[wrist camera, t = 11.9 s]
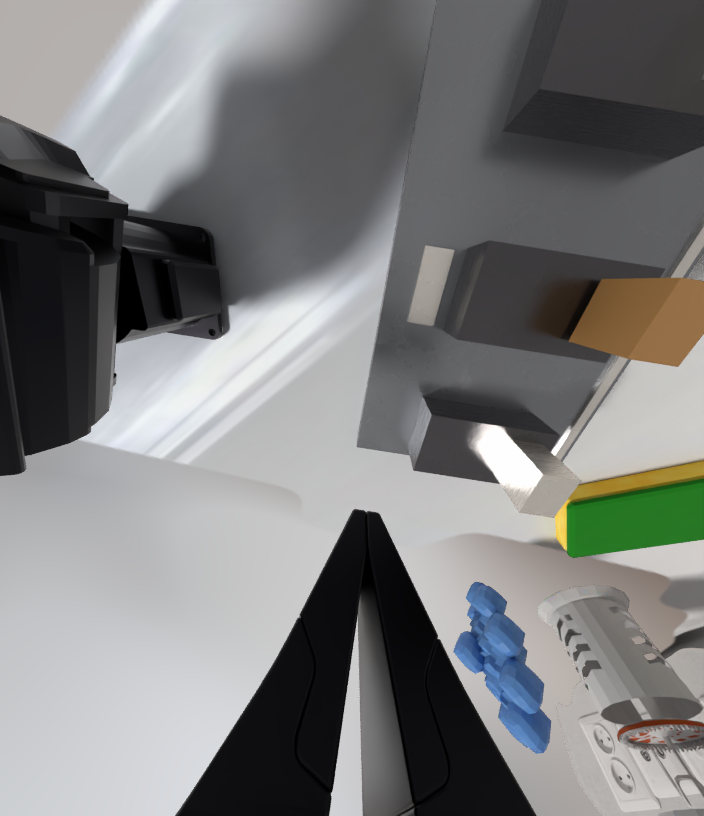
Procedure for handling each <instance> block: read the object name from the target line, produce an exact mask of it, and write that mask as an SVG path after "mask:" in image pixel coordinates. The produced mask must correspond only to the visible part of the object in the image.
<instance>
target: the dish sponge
mask: <svg viewBox="0 0 704 816" xmlns="http://www.w3.org/2000/svg"><path fill="white" fill-rule="evenodd" d="M555 520H556V538H557V540H558V541H559V542H560V544H561V545H562V547H563V548H564V549H565V550H566V551H567V553H568V555H569V556H570V557H573V558H575V557H583V556H590V555H597V554H604V553H611V552H619V551H626V550H633V549H640V548H647V547H654V546H661V545H669V544H676V543H683V542H690V541H697V540H704V461H700V462H695V463H689V464H684V465H679V466H674V467H669V468H664V469H659V470H654V471H649V472H644V473H638V474H633V475H628V476H623V477H618V478H613V479H608V480H603V481H598V482H592V483H587V484H582V485H578V486H577V488H576V489H575V490H574V492H573V493H572V494H571V496H570V497H569V498H568V500H567V501H566V502H565V504H564V505H563V506H562V508H561V509H560V510H559V511H558V513H557V514H556V515H555Z"/></svg>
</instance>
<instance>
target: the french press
mask: <svg viewBox="0 0 704 816" xmlns="http://www.w3.org/2000/svg"><path fill="white" fill-rule="evenodd" d="M628 607H629V599H628V597H627V596H626V594H625V593H624V592H622V591H620V590H618V589H616V588H613V587H608V586H599V585H589V586H578V587H573V588H569V589H566V590H563V591H559V592H557V593H555V594H553V595H552V596H550V597H548V598H546V599H545V600H544V601H543V602H542V604H541V605H540V606H539V607H538V616H539V617H540V618H541V619H542V620H543V621H544V622H545V623H547V624H548V625H550V626H552V627H554V629H555V631H556V633H557V635H558V637H559V638H560V640H561V641H562V643H563V646H564V648H565V650H566V652H567V653H568V655H569V656H570V658H571V660H572V663H573V664H574V667H575V669H576V670H577V672H578V673H579V674H580V678H581V680H582V682H583V684H584V686H585V687H586V689H587V690H588V691H589V694H590V697H591V699H592V701H593V702H594V704H595V706H596V708H597V710H598V712H599V713H600V715H601V716H602V717H603V718H604V719H605V720H608V721H610V722H613V723H616V724H621V725H624V726H623V727H622V728H620V729H619V731H618V734H617V738H618V741H619V742H621V743H622V744H623V745H624V746H626V747H627V748H631V749H634V750H637V751H639V749H640V751H642V749H643V751H646V749H647V750H648V752H650V751H649V750H651V751H652V753H653V755H654V756H655V758H656V760H657V761H658V763H659V764H660V766H661V767H662V769H663V771H664V772H665V774H666V775H667V777H668V778H669V780H670V781H671V783H672V784H673V786H674V787H675V789H676V790H677V792H678V793H679V795H680V796H681V798H682V799H683V801H684V802H685V803H686V805H687V806H688V807H690V808H691V804H690V802H689V800H688V798H687V797H686V795H685V794H684V792H683V790H682V789H681V787H680V783H679V782H680V781H681V780H692V781H693V782H694V784H695V785H696V787H697V788H698V790H699V791H700V793H701V794H702V796H703V797H704V786H703V785H702V784H701V783H700V782H699V781H698V780H697V779H696V778H694V777H693V775H692V774H691V772H690V771H689V769H688V768H687V766H686V765H685V763H684V762H683V760H682V759H681V757H680V756H679V754H678V752H679V753H680V751H679V749H680V750H681V751H682V752H684V749H685V750H686V749H687V750H686V751H687V752H688V749H689V750H691V751H692V749H694V750H695V751H696V748H697V746H699V748H697V749H698V750H700V749H701V748H702V749H704V723H702V722H700V721H692V720H688V719H691V718H693V717H695V716H696V715H698V714H700V713H701V711H702V710H703V707H702V706H701V705H700V703H699V702H698V701H697V699H696V698H695V697H694V695H693V694H692V693H691V691H690V690H689V689H688V687H687V686H686V685H685V684H684V683H683V682H682V680H681V679H680V678H679V677H678V675H677V674H676V672H675V671H674V670H673V668H672V667H671V666H670V664H669V663H668V662H667V661H666V660H665V659H664V657H663V656H662V655H661V653H660V652H659V650H658V649H657V648H656V647H655V646H654V644H653V643H652V642H651V641H650V639H649V638H648V637H647V636H646V634H645V633H642V632H640V629H641V628H640V627H639V625H638V624H637V623H636V622H635V620H634V619H633V618H632V617H631V615H630V614H629V612H628ZM644 634H645V635H644ZM637 636H640V637H642V638H644V639H645V640H646V642H645V643H642V644H638V645H636V644H635V643H634V642H633V641H632V639H631V638H634V637H637ZM652 645H653V646H654V647H655V648H656V649H657V650H656V649H654V648H652ZM566 646H569V652H568V651H567V648H566ZM575 647H576V649H577V651H576V652H575V653H573V652H574V650H575ZM648 653H653V654H655V655H657V656H658V659H654V660H646V658H645V657H644V656H643V655H644V654H648ZM574 661H577V664H578V668H577V667H576V666H575V662H574ZM665 662H666V663H667V664H668V665H669V666H670V667H671V669H670V668H669V667H667V666H665ZM584 664H585V665H586V666H584ZM583 676H584V677H587V676H588V677H587V680H586V681H587V684H585V682H584V678H583ZM635 698H639V699H640V701H641V703H642V704H643V706H644V707H645V709H646V711H647V712H648V714H649V716H650V717H651V719H647V720H643V719H642V717H641V716H640V714H639V713H638V711H637V709H636V708H635V706H634V705H633V703H632V701H631V700H630V699H635ZM701 746H702V747H701ZM632 747H633V748H632ZM694 747H695V748H694ZM690 748H691V749H690ZM644 749H645V750H644ZM677 749H678V750H677ZM654 750H656V752H657V750H660V752H661V753H662V751H661V750H664V752H665V753H666V750H668V751H669V752H670V750H672V752H673V754H674V755H675V757H676V758H677V759H678V761H679V762H680V764H681V765H682V767H683V768H684V770H685V771H686V773H687V774H688V775H677V776H676V777H675V778H674V780H675V782H674V781H673V779H672V778H671V776H670V775H669V773H668V772H667V770H666V769H665V767H664V766H663V764H662V762H661V761H660V759H659V758H658V756H657V754H656V753H655V751H654ZM676 750H677V751H678V752H677V751H676ZM670 753H671V752H670ZM666 754H667V753H666ZM657 816H704V809H685V810H673V811H668V812H663V813H659V814H658V815H657Z"/></svg>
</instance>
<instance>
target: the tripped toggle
mask: <svg viewBox="0 0 704 816" xmlns="http://www.w3.org/2000/svg"><path fill="white" fill-rule="evenodd" d="M703 334H704V281H699V280H693V279H687V278H633V279H602V280H601V281H600V283H599V285H598V287H597V289H596V291H595V293H594V294H593V296H592V298H591V300H590V302H589V304H588V306H587V308H586V309H585V311H584V313H583V315H582V317H581V319H580V321H579V322H578V324H577V326H576V328H575V330H574V332H573V334H572V335H571V337H570V339H569V342H572V343H576V344H579V345H582V346H586V347H589V348H593V349H596V350H599V351H603V352H606V353H610V354H613V355H616V356H620V357H623V358H627V359H632V360H638V361H645V362H651V363H657V364H664V365H670V366H676V367H678V366H679V365H680V364H681V362H682V361H683V360H684V359H685V357H686V356H687V355H688V353H689V352H690V351H691V350H692V348H693V347H694V346H695V344H696V343H697V342H698V341H699V339H700V338H701V337H702V335H703Z"/></svg>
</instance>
